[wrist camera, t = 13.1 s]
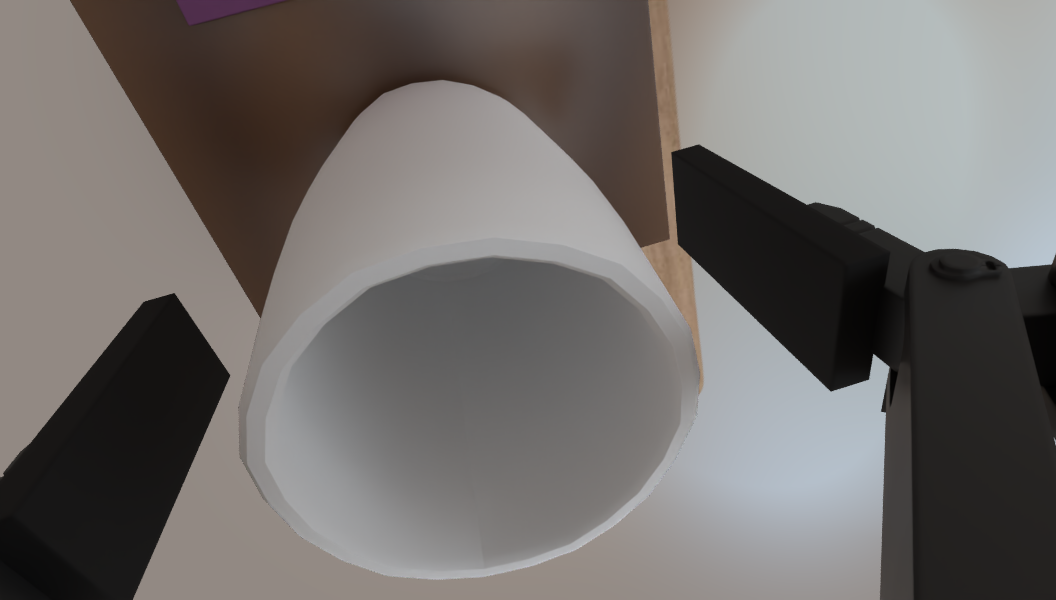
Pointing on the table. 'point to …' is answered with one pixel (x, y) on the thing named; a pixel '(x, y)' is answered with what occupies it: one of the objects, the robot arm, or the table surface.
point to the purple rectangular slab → (217, 8)
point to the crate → (374, 96)
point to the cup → (461, 349)
